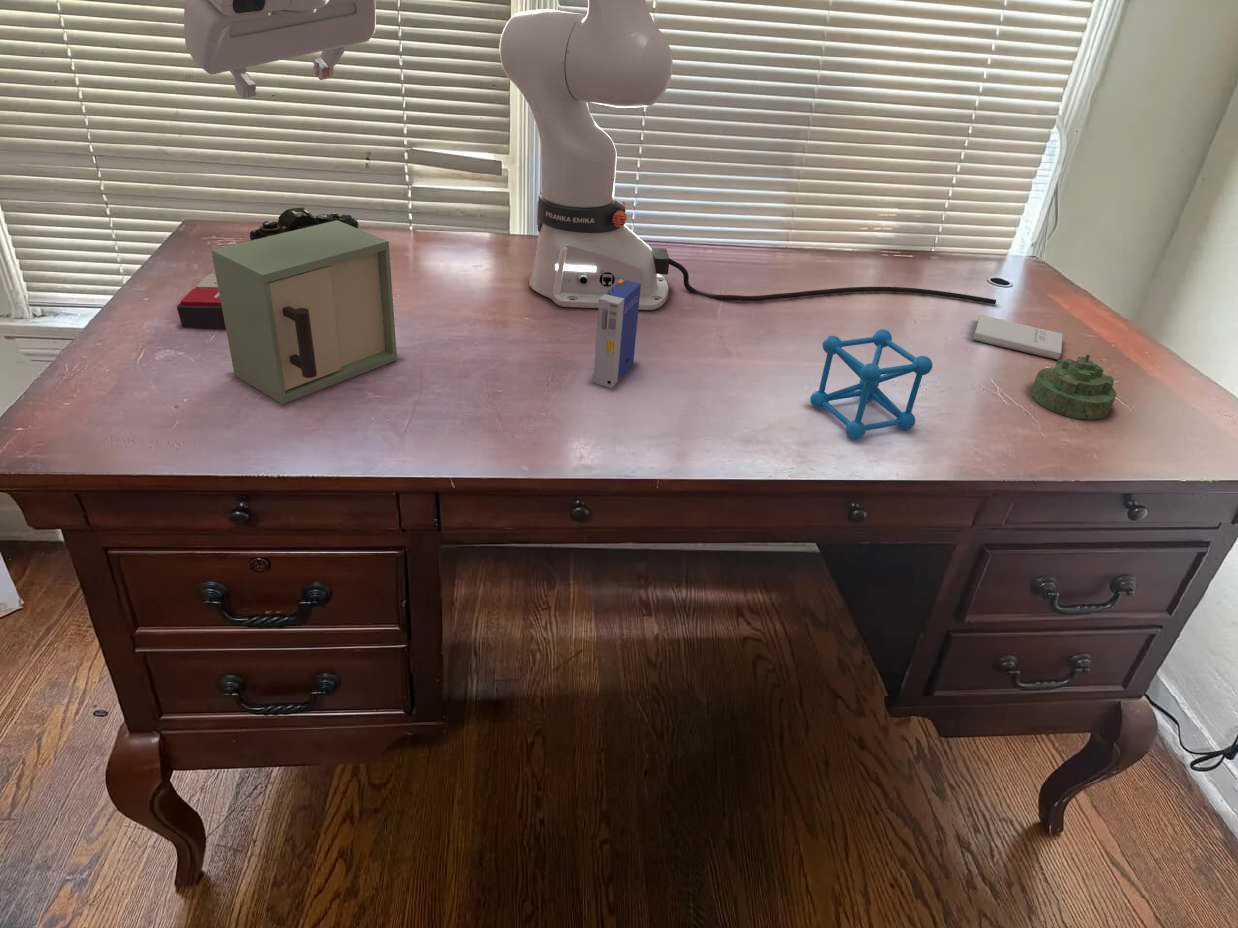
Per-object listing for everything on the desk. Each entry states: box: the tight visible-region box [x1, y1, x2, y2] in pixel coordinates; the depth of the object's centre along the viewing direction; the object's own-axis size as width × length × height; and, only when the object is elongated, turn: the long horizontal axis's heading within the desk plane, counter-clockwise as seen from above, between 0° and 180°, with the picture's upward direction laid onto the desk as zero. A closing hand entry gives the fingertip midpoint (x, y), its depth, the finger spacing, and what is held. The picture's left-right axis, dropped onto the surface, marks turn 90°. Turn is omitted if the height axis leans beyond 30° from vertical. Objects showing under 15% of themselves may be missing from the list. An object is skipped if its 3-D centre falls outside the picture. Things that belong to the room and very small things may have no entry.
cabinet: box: [210, 220, 398, 405], centre depth 105 cm, size 10×17×16 cm, turn 142°
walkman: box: [592, 279, 641, 389], centre depth 111 cm, size 8×3×12 cm, turn 158°
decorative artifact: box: [1030, 353, 1117, 421], centre depth 116 cm, size 10×7×10 cm
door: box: [268, 266, 341, 391], centre depth 100 cm, size 4×8×13 cm, turn 142°
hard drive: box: [972, 314, 1063, 361], centre depth 134 cm, size 2×8×12 cm
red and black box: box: [176, 273, 226, 329], centre depth 120 cm, size 11×4×15 cm
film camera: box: [249, 207, 360, 241], centre depth 134 cm, size 18×12×10 cm
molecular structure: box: [809, 328, 933, 440], centre depth 107 cm, size 10×10×10 cm
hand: (285, 84), depth 96 cm, fingers open, 8 cm apart
